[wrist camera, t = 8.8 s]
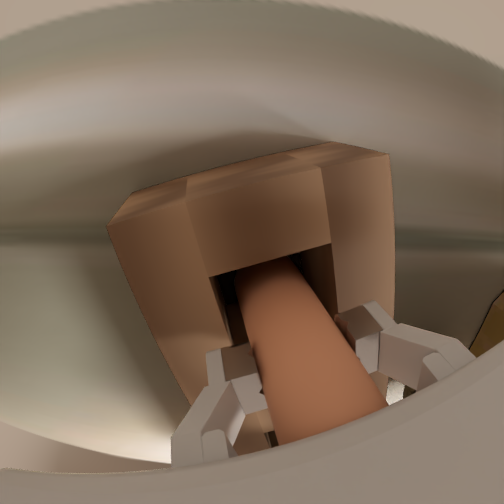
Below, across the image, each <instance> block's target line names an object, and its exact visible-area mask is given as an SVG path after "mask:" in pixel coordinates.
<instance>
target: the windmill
mask: <svg viewBox="0 0 504 504" xmlns="http://www.w3.org/2000/svg"><path fill="white" fill-rule="evenodd" d="M503 340H504V292H503V293H502V294H501V295H500V296H499V297H498V298H497V299H496V300H495V301H494V303H493V304H492V306H491V309H490V311H489V313H488V315H487V317H486V319H485V321H484V323H483V325H482V327H481V329H480V331H479V333H478V335H477V337H476V339H475V341H474V343H473V345H472V346H471V348H470V350H469V351H470V352H471V353H472V354H473V355H474V356H475V357H476V358H477V357H479V356H480V355H482V354H484V353H485V352H487V351H488V350H490V349H491V348H493V347H494V346H495V345H497V344H498V343H500V342H501V341H503Z"/></svg>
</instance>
